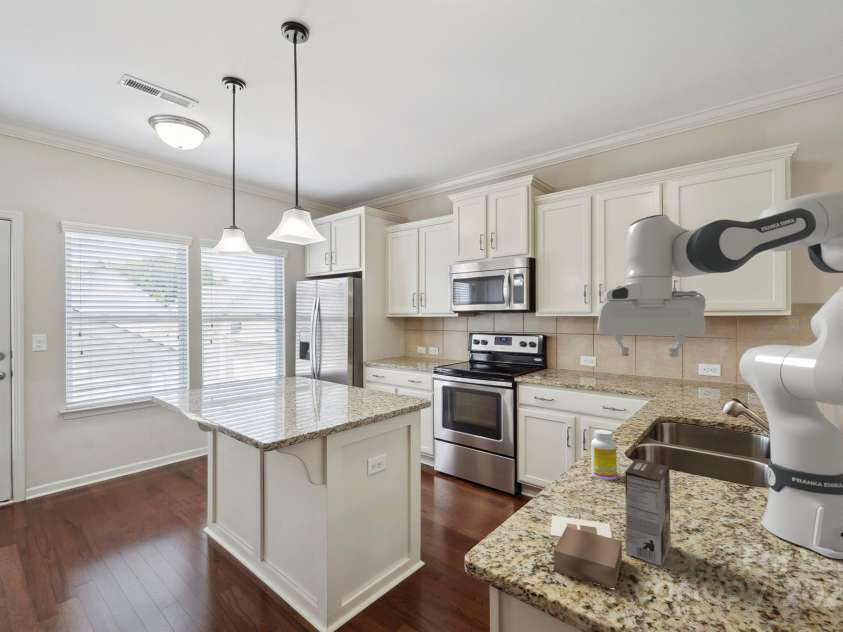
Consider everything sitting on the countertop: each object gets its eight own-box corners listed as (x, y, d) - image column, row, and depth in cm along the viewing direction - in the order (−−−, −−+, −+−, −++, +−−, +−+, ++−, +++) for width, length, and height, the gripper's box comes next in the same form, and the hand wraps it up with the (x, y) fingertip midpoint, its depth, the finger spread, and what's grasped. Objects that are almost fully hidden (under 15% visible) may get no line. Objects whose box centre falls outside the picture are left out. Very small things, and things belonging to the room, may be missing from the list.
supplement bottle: (620, 481, 114) (620, 435, 114) (596, 481, 114) (596, 435, 114) (610, 472, 121) (609, 428, 121) (587, 472, 121) (587, 428, 121)
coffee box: (635, 535, 86) (635, 458, 86) (671, 546, 82) (671, 465, 82) (624, 555, 79) (623, 470, 79) (662, 568, 75) (662, 478, 75)
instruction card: (609, 524, 90) (609, 523, 90) (613, 546, 82) (613, 544, 82) (552, 516, 94) (552, 514, 94) (550, 535, 86) (550, 534, 86)
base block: (621, 562, 77) (621, 540, 77) (614, 592, 69) (614, 568, 69) (566, 546, 82) (566, 526, 82) (553, 572, 74) (553, 550, 74)
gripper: (700, 291, 88) (701, 356, 88) (596, 293, 95) (597, 353, 95) (710, 289, 82) (710, 359, 82) (598, 292, 89) (598, 356, 89)
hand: (648, 356), depth 88 cm, fingers open, 8 cm apart
